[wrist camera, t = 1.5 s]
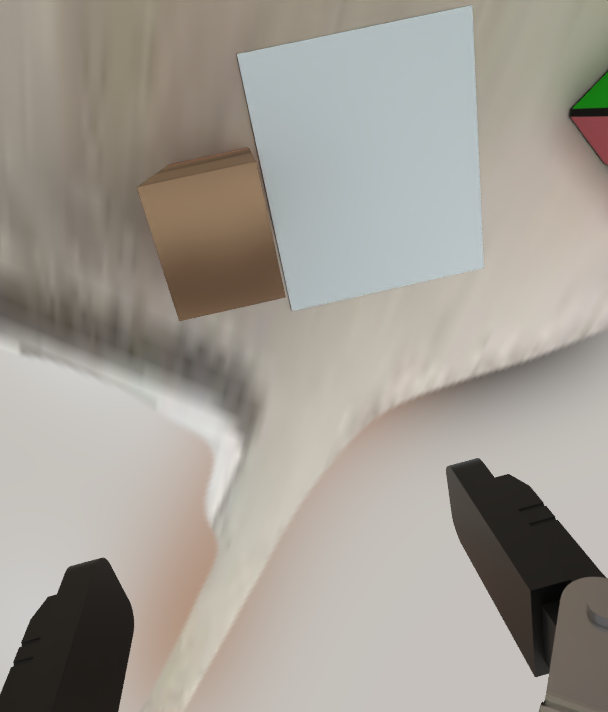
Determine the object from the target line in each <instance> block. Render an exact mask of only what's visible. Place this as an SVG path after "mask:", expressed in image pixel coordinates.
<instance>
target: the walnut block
mask: <svg viewBox="0 0 608 712" xmlns="http://www.w3.org/2000/svg"><path fill="white" fill-rule="evenodd" d="M137 190H138V193H139V196H140V199H141V202H142V205H143V208H144V212H145V215H146V218H147V221H148V224H149V227H150V230H151V234H152V237H153V240H154V243H155V246H156V249H157V253H158V256H159V259H160V262H161V265H162V268H163V271H164V275H165V278H166V281H167V284H168V287H169V290H170V294H171V297H172V300H173V303H174V306H175V309H176V312H177V316H178V319H179V321H182V320H187V319H191V318H196V317H200V316H204V315H209V314H213V313H218V312H222V311H227V310H231V309H236V308H240V307H245V306H249V305H254V304H258V303H262V302H267V301H271V300H276V299H280V298H285V292H284V287H283V283H282V278H281V274H280V269H279V264H278V260H277V255H276V251H275V246H274V241H273V237H272V232H271V228H270V223H269V219H268V214H267V209H266V205H265V200H264V196H263V191H262V186H261V182H260V177H259V173H258V168H257V163H256V160H255V159H254V157H253V155H252V153H251V151H250V149H249V148H245V149H240V150H235V151H231V152H226V153H221V154H217V155H212V156H207V157H203V158H198V159H193V160H189V161H184V162H180V163H175V164H170V165H168V166H167V167H165V168H164V169H162V170H161V171H160V172H158V173H157V174H155V175H154V176H152V177H151V178H149V179H148V180H147V181H145V182H144V183H142V184H141V185H139V186H138V187H137Z"/></svg>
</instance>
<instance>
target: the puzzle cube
mask: <svg viewBox="0 0 608 712" xmlns="http://www.w3.org/2000/svg"><path fill="white" fill-rule="evenodd" d="M570 117H571V119H572V120H573V121H574V123H575V124H576V125H577V127H578V128H579V129H580V131H581V132H582V134H583V135H584V136H585V138H586V139H587V140H588V142H589V143H590V144H591V146H592V147H593V148H594V150H595V151H596V152H597V154H598V155H599V157H600V158H601V159H602V161H603V162H604V163H605V165H608V72H607V73H606V74H605V75H604V76H603V77H602V78H601V79H600V80H599V81H598V82H597V83H596V84H595V85H594V86H593V87H592V88H591V89H590V90H589V91H588V92H587V94H586V95H585V96H584V97H583V98H582V99H581V100H580V101H579V102H578V103H577V104H576V105H575V106H574V107H573V108H572V109H571V115H570Z"/></svg>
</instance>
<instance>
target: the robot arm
mask: <svg viewBox="0 0 608 712" xmlns="http://www.w3.org/2000/svg"><path fill="white" fill-rule="evenodd" d="M446 475H447V482H448V489H449V497H450V504H451V511H452V518H453V522H454V526H455V529H456V532H457V535H458V537H459V540H460V542H461V544H462V545H463V548H464V549H465V551H466V553H467V555H468V556H469V558H470V560H471V562H472V564H473V566H474V567H475V569H476V571H477V573H478V575H479V577H480V578H481V580H482V582H483V584H484V585H485V587H486V589H487V591H488V593H489V595H490V596H491V598H492V600H493V602H494V603H495V605H496V607H497V609H498V611H499V613H500V614H501V616H502V618H503V620H504V621H505V623H506V625H507V627H508V629H509V631H510V632H511V634H512V636H513V638H514V640H515V641H516V643H517V645H518V647H519V649H520V651H521V652H522V654H523V656H524V658H525V659H526V662H527V663H528V665H529V667H530V669H531V671H532V672H533V674H534V676H535V677H538V676H541V675H545V674H549V678H548V685H547V691H546V697H545V701H544V702H542V703H541V705H540V709H539V712H608V578H606V577H605V576H604V575H603V574H602V573H601V571H600V570H599V569H598V568H597V567H596V565H595V564H594V563H593V562H592V560H591V559H590V558H589V557H588V556H587V555H586V553H585V552H584V551H583V550H582V548H581V547H580V546H579V545H578V544H577V543H576V541H575V540H574V539H573V538H572V537H571V535H570V534H569V533H568V532H567V530H566V529H565V528H564V527H563V526H562V525H561V523H560V522H559V521H558V520H556V519H555V516H554V515H553V514H552V512H551V511H550V510H549V509H548V508H547V506H544V504H543V502H542V500H541V499H540V498H539V497H538V496H537V494H536V493H535V492H534V491H533V490H532V489H531V487H530V486H529V485H527V484H525V483H524V482H522V481H520V480H518V479H517V478H515V477H513V476H511V475H510V474H507V475H503V476H499V477H496V478H494V476H493V475H492V474H491V472H490V471H489V470H488V468H487V467H486V466H485V464H484V463H483V462H482V461H481V460H480V459H479V458H476V459H473V460H469V461H465V462H461V463H458V464H454V465H450V466H448V467H447V468H446ZM133 632H134V616H133V610H132V607H131V604H130V601H129V599H128V598H127V596H126V594H125V592H124V590H123V588H122V586H121V584H120V582H119V580H118V579H117V577H116V575H115V573H114V571H113V569H112V567H111V565H110V563H109V562H108V560H106V559H105V558H100V559H96V560H92V561H88V562H84V563H81V564H77V565H74V566H70V567H69V568H68V569H67V570H66V572H65V574H64V577H63V580H62V583H61V585H60V588H59V590H58V593H57V595H53V596H50V597H48V598H47V599H46V601H45V602H44V603H43V604H42V605H41V607H40V608H39V609H38V611H37V612H36V613H35V615H34V616H33V617H32V619H31V620H30V622H29V625H28V627H27V630H26V632H25V635H24V637H23V640H22V642H21V643H22V647H19V649H18V652H17V654H16V657H15V660H14V662H13V663H14V666H13V667H11V669H10V672H9V674H8V676H7V679H6V681H5V684H4V686H3V689H2V692H1V694H0V712H118V710H119V704H120V699H121V694H122V689H123V684H124V679H125V673H126V668H127V663H128V658H129V653H130V648H131V643H132V637H133Z"/></svg>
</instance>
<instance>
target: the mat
mask: <svg viewBox="0 0 608 712" xmlns="http://www.w3.org/2000/svg"><path fill="white" fill-rule="evenodd" d="M237 58H238V62H239V67H240V72H241V76H242V81H243V86H244V90H245V95H246V99H247V104H248V109H249V113H250V118H251V123H252V127H253V132H254V137H255V141H256V146H257V151H258V155H259V160H260V165H261V169H262V174H263V179H264V183H265V188H266V193H267V197H268V202H269V206H270V211H271V216H272V220H273V225H274V230H275V234H276V239H277V244H278V248H279V253H280V258H281V262H282V267H283V272H284V276H285V281H286V286H287V290H288V295H289V300H290V304H291V309H292V311H295V310H300V309H304V308H308V307H313V306H317V305H322V304H326V303H331V302H335V301H340V300H344V299H349V298H353V297H357V296H362V295H366V294H371V293H375V292H380V291H384V290H389V289H393V288H397V287H402V286H406V285H411V284H415V283H420V282H424V281H429V280H433V279H437V278H442V277H446V276H451V275H455V274H460V273H464V272H469V271H473V270H477V269H482V268H484V262H483V239H482V216H481V194H480V171H479V148H478V125H477V103H476V80H475V57H474V35H473V12H472V5H470V6H466V7H461V8H456V9H451V10H446V11H442V12H437V13H432V14H427V15H423V16H418V17H413V18H408V19H403V20H399V21H394V22H389V23H384V24H379V25H375V26H370V27H365V28H360V29H355V30H351V31H346V32H341V33H336V34H332V35H327V36H322V37H317V38H312V39H308V40H303V41H298V42H293V43H288V44H284V45H279V46H274V47H269V48H265V49H260V50H255V51H250V52H245V53H241V54H237Z"/></svg>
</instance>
